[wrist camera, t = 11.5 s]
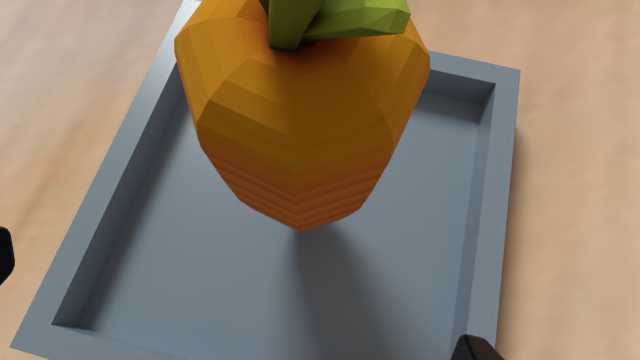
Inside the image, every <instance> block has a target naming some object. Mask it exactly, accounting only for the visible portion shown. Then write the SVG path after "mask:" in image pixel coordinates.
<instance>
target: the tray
mask: <svg viewBox="0 0 640 360" xmlns="http://www.w3.org/2000/svg"><path fill="white" fill-rule="evenodd" d="M200 4H201V2H198V1H194V0H184V1H183V3H182V5H181V7H180V9H179V11H178V13H177V15H176V17H175V19H174V21H173V23H172V25H171V27H170V29H169V31H168V33H167V35H166V37H165V39H164V41H163V43H162V45H161V47H160V49H159V51H158V53H157V54H156V56H155V58H154V60H153V62H152V64H151V66H150V68H149V70H148V72H147V74H146V76H145V78H144V80H143V82H142V84H141V86H140V88H139V90H138V92H137V94H136V96H135V98H134V100H133V102H132V104H131V106H130V108H129V110H128V112H127V114H126V116H125V118H124V120H123V122H122V124H121V126H120V128H119V130H118V132H117V134H116V136H115V138H114V140H113V142H112V144H111V146H110V148H109V150H108V152H107V154H106V156H105V158H104V160H103V162H102V164H101V166H100V168H99V170H98V172H97V174H96V176H95V178H94V180H93V182H92V184H91V186H90V188H89V190H88V192H87V194H86V196H85V198H84V200H83V202H82V204H81V206H80V208H79V210H78V212H77V214H76V216H75V218H74V220H73V222H72V224H71V226H70V228H69V230H68V232H67V234H66V236H65V238H64V240H63V241H62V243H61V245H60V247H59V249H58V251H57V253H56V255H55V257H54V259H53V261H52V263H51V265H50V267H49V269H48V271H47V273H46V275H45V277H44V279H43V281H42V283H41V285H40V287H39V289H38V291H37V293H36V295H35V297H34V299H33V301H32V303H31V305H30V307H29V309H28V311H27V313H26V315H25V317H24V319H23V321H22V323H21V325H20V327H19V329H18V331H17V333H16V335H15V337H14V339H13V341H12V343H11V345H10V348H14V349H17V350H20V351H24V352H27V353H30V354H34V355H37V356H40V357H44V358H47V359H50V360H450V359H451V357H452V354H453V352H454V349H455V347H456V344H457V341H458V339H459V337H460V336H461V335H462V334H469V335H474V336H478V337H482V338H484V339H486V340H487V341H488V342H489V343H490V344H491V345H492V346H493V347H494V349H495V343H496V332H497V321H498V310H499V300H500V289H501V278H502V267H503V256H504V245H505V234H506V223H507V212H508V201H509V191H510V180H511V169H512V158H513V147H514V136H515V125H516V114H517V103H518V93H519V82H520V71H521V70H518V69H513V68H509V67H504V66H499V65H494V64H490V63H485V62H480V61H476V60H471V59H466V58H462V57H457V56H452V55H447V54H443V53H438V52H433V51H429V50H427V51H428V53H429V55H430V72H429V75H428V79H427V82H426V84H425V86H424V88H423V90H422V92H421V95H420V97H419V99H418V101H417V103H416V105H415V108H414V110H413V112H412V114H411V116H410V119H409V121H408V123H407V125H406V127H405V129H404V132H403V134H402V136H401V138H400V140H399V142H398V145H397V147H396V149H395V151H394V153H393V155H392V158H391V160H390V162H389V163H388V165H387V167H386V169H385V170H384V172H383V174H382V176H381V177H380V179H379V181H378V182H377V184H376V186H375V188H374V189H373V191H372V192H371V194H370V195H369V197H368V198H367V200H366V201H365V202H364V204H363V205H362V207H361V208H360V209H359V210H357V211H356V212H354V213H353V214H351V215H350V216H348V217H345V218H343V219H341V220H338V221H335V222H332V223H329V224H326V225H323V226H320V227H317V228H314V229H311V230H308V231H305V232H302V233H301V232H298V231H296V230H294V229H292V228H290V227H288V226H286V225H284V224H282V223H280V222H278V221H276V220H274V219H272V218H270V217H268V216H266V215H263V214H261V213H259V212H257V211H255V210H253V209H252V208H250V207H249V206H247V205H246V204H244V203H242V202H241V201H240V200H239V199H238V198H237V197H236V195H235V194H234V193H233V192H232V190H231V189H230V188H229V187H228V186H227V184H226V183H225V182H224V181H223V179H222V178H221V176H220V175H219V173H218V172H217V170H216V169H215V167H214V166H213V164H212V163H211V162H210V160H209V159H208V157H207V156H206V154H205V153H204V151H203V150H202V148H201V146H200V143H199V141H198V138H197V134H196V131H195V127H194V123H193V120H192V116H191V112H190V109H189V105H188V101H187V98H186V94H185V90H184V87H183V83H182V79H181V76H180V72H179V68H178V65H177V61H176V57H175V54H174V38H175V37H176V36H177V34H178V33H179V32H180V30H181V29H182V28H183V26H184V25H185V24H186V22H187V21H188V20H189V18H190V17H191V16H192V14H193V13H194V12H195V10H196V9H197V8H198V6H199V5H200Z"/></svg>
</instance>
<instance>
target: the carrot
mask: <svg viewBox="0 0 640 360" xmlns="http://www.w3.org/2000/svg"><path fill="white" fill-rule="evenodd" d="M410 15H411V13H410V10H409V7H408V5H407V2H406V0H203V1H202V2H201V4H200V5H199V6H198V8H197V9H196V10H195V12H194V13H193V14H192V16H191V17H190V18H189V20H188V21H187V22H186V24H185V25H184V26H183V28H182V29H181V30H180V32H179V33H178V34H177V36H176V37H175V38H174V54H175V57H176V61H177V65H178V68H179V72H180V76H181V79H182V83H183V87H184V90H185V94H186V98H187V101H188V105H189V109H190V112H191V116H192V120H193V123H194V127H195V131H196V134H197V138H198V141H199V143H200V146H201V148H202V150H203V151H204V153H205V154H206V156H207V157H208V159H209V160H210V162H211V163H212V164H213V166H214V167H215V169H216V170H217V172H218V173H219V175H220V176H221V178H222V179H223V181H224V182H225V183H226V184H227V186H228V187H229V188H230V189H231V190H232V192H233V193H234V194H235V195H236V197H237V198H238V199H239V200H240V201H241V202H242V203H244V204H246V205H247V206H249V207H250V208H252V209H253V210H255V211H257V212H259V213H261V214H263V215H266V216H268V217H270V218H272V219H274V220H276V221H278V222H280V223H282V224H284V225H286V226H288V227H290V228H292V229H294V230H296V231H298V232H301V233H302V232H305V231H308V230H311V229H314V228H317V227H320V226H323V225H326V224H329V223H332V222H335V221H338V220H341V219H343V218H345V217H348V216H350V215H351V214H353V213H354V212H356V211H357V210H359V209H360V208H361V207H362V205H363V204H364V202H365V201H366V200H367V198H368V197H369V195H370V194H371V192H372V191H373V189H374V188H375V186H376V184H377V182H378V181H379V179H380V177H381V176H382V174H383V172H384V170H385V169H386V167H387V165H388V163H389V162H390V160H391V158H392V155H393V153H394V151H395V149H396V147H397V145H398V142H399V140H400V138H401V136H402V134H403V132H404V129H405V127H406V125H407V123H408V121H409V119H410V116H411V114H412V112H413V110H414V108H415V105H416V103H417V101H418V99H419V97H420V95H421V92H422V90H423V88H424V86H425V84H426V82H427V79H428V75H429V72H430V55H429V53H428V51H427V49H426V47H425V45H424V43H423V41H422V40H421V38H420V36H419V34H418V32H417V30H416V28H415V26H414V24H413V22H412V20H411V18H410Z"/></svg>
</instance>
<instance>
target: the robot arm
mask: <svg viewBox="0 0 640 360" xmlns="http://www.w3.org/2000/svg"><path fill="white" fill-rule="evenodd" d="M14 266H15V258H14V252H13V245H12V239H11V234H10V232H9V231H8V229H6V228H4V227H1V226H0V285H1V284H2V283H3V282H4V281H5V280H6V279H7V278H8V277H9V275H10V274H11V273H12V271H13V269H14ZM450 360H504V359H503V358H502V356H501V355H500V354H499V353H498V352H497V351H496V350H495V349H494V347H493V346H492V345H491V344H490V343H489V342H488V341H487V340H486V339H484V338H482V337H478V336H474V335H469V334H462V335H461V336H460V337H459V339H458V341H457V344H456V347H455V349H454V352H453V354H452V357H451V359H450Z"/></svg>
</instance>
